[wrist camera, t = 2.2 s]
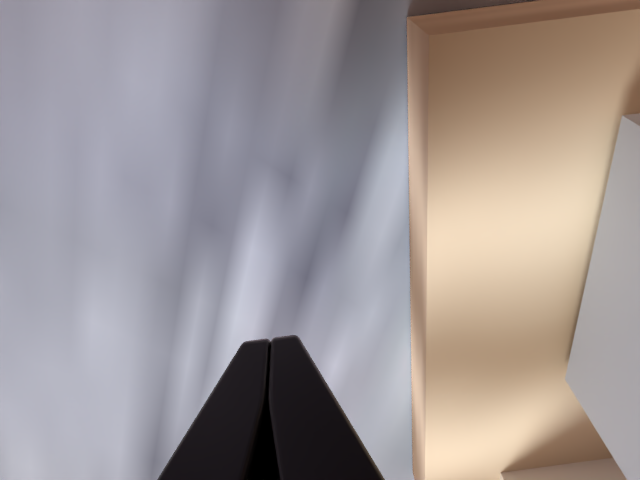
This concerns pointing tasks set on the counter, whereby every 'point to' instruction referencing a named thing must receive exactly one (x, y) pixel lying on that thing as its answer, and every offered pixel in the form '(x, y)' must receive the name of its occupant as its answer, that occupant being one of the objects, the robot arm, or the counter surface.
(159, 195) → the counter surface
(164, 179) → the counter surface
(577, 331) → the light grey block
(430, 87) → the gauge base
